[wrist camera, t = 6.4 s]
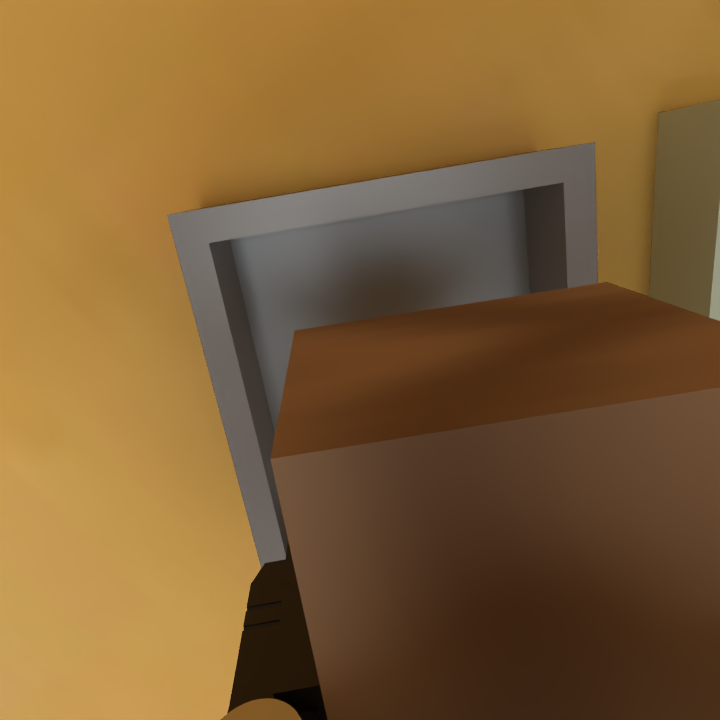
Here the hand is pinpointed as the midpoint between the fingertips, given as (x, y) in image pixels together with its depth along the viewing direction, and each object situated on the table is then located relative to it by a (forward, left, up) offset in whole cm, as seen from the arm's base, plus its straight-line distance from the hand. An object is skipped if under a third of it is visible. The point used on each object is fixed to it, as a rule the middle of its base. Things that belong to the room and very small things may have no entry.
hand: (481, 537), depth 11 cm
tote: (0, 0, -13) cm, 13 cm away
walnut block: (0, 0, -1) cm, 1 cm away
